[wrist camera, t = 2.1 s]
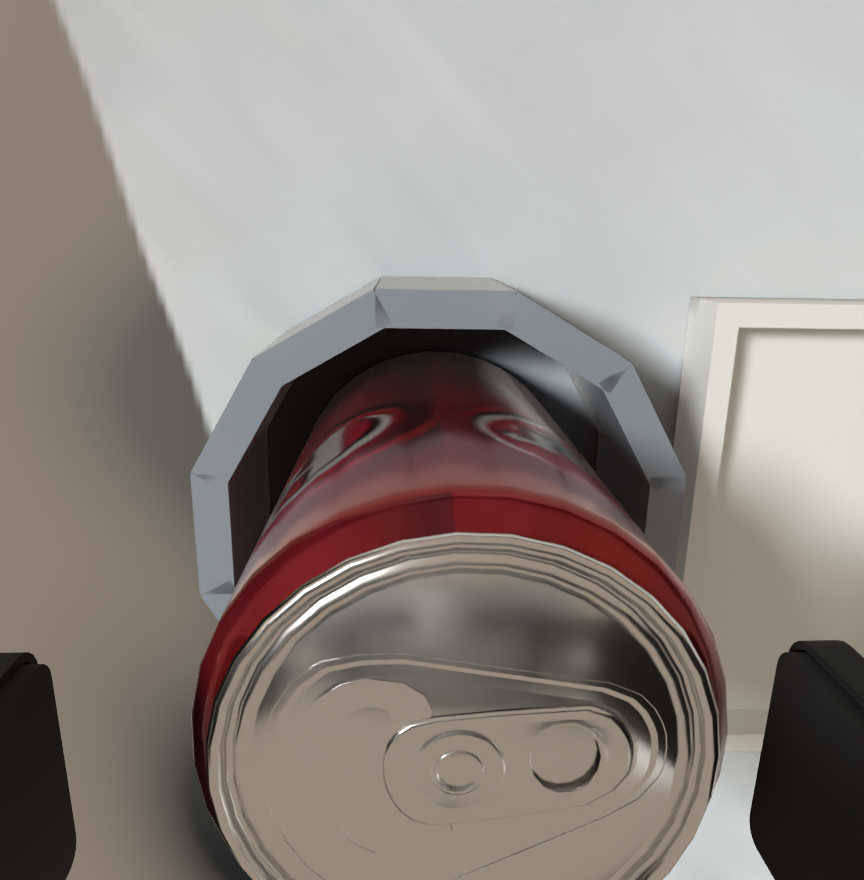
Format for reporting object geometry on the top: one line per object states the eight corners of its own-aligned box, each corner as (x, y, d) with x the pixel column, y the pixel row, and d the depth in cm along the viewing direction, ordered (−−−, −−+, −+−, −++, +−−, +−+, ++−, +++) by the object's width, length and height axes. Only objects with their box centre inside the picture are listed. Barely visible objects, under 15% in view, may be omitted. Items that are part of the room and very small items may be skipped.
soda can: (318, 593, 22) (215, 1006, 10) (293, 354, 20) (131, 525, 8) (558, 580, 22) (729, 970, 10) (559, 340, 20) (772, 489, 8)
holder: (640, 280, 19) (708, 294, 15) (606, 642, 22) (653, 739, 18) (228, 274, 19) (175, 285, 15) (249, 642, 22) (211, 743, 18)
